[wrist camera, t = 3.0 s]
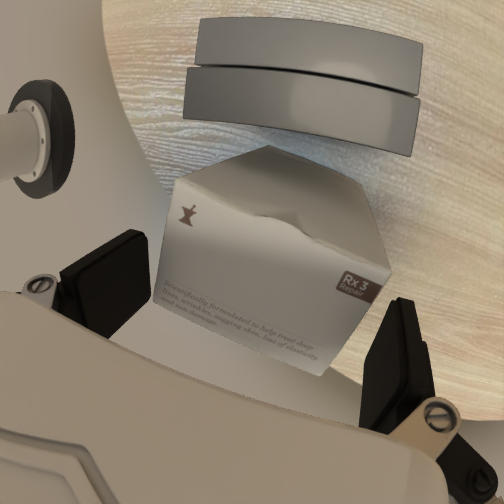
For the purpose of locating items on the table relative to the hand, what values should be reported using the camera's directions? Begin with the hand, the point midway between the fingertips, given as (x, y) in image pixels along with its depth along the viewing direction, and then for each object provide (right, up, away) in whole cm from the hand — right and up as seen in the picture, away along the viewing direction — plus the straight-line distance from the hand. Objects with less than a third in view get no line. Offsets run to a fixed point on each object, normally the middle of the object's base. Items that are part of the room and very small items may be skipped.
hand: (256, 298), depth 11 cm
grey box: (+5, +13, +9) cm, 17 cm away
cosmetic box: (+4, +6, +13) cm, 15 cm away
